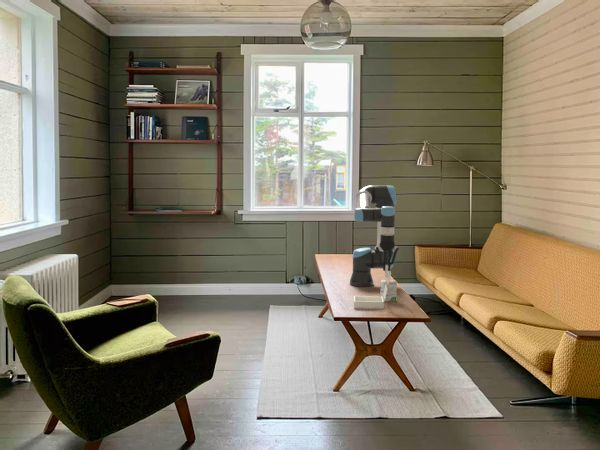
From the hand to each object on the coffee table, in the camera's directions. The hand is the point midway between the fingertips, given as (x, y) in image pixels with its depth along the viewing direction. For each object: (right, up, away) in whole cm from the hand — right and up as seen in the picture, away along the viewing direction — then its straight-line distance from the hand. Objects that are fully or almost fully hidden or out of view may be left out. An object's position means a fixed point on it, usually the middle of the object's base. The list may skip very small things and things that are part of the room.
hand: (386, 276), depth 346 cm
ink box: (+3, -15, +15) cm, 22 cm away
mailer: (-10, -17, +3) cm, 19 cm away
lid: (0, -4, +1) cm, 4 cm away
